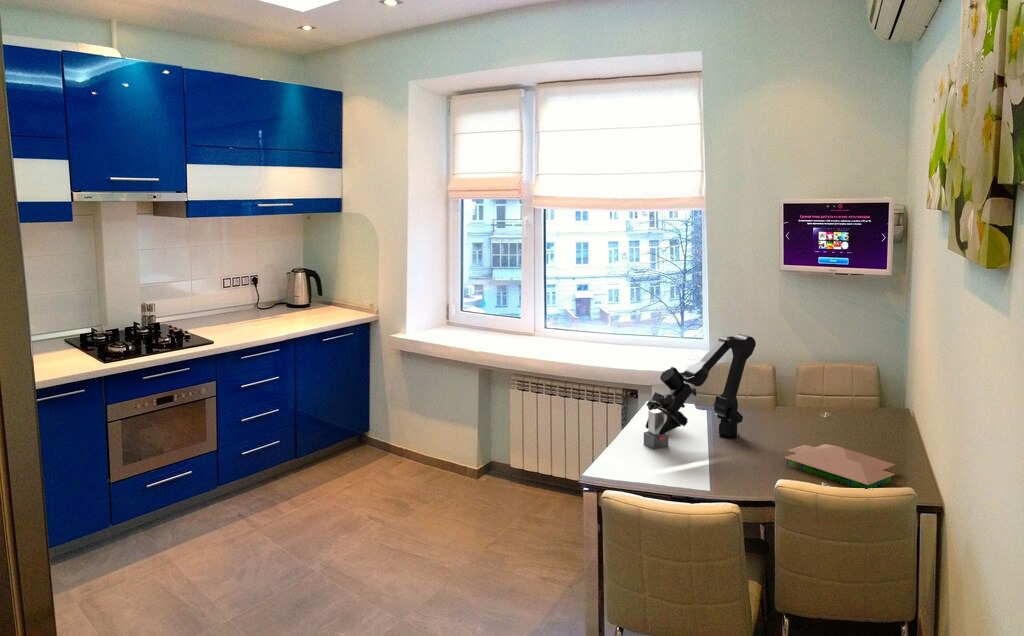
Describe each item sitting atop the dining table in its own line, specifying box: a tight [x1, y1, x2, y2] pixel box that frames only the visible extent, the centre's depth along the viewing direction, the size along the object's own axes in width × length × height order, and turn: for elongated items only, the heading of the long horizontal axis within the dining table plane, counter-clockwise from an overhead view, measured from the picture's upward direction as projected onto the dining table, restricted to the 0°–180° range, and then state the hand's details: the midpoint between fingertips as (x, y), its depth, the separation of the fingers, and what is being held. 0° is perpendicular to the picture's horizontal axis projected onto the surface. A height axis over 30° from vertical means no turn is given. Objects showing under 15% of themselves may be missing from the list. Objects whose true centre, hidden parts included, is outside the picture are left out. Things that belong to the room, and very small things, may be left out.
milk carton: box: [651, 382, 672, 424], centre depth 290 cm, size 7×7×19 cm
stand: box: [643, 430, 670, 450], centre depth 269 cm, size 10×10×6 cm
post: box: [647, 409, 664, 436], centre depth 268 cm, size 4×4×13 cm
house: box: [783, 443, 896, 489], centre depth 244 cm, size 23×33×8 cm
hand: (652, 430), depth 267 cm, fingers open, 8 cm apart
